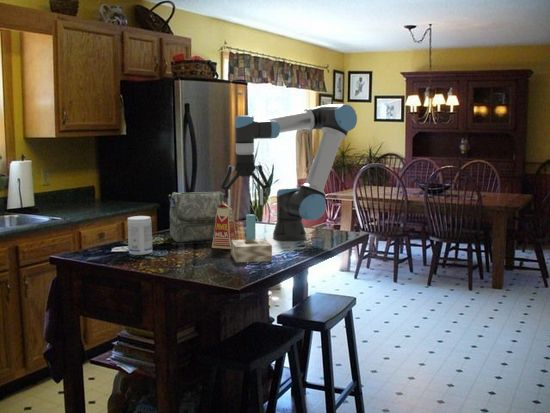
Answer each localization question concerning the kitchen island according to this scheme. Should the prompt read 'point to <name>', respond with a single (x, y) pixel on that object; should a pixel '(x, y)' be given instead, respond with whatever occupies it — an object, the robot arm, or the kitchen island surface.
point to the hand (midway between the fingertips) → (245, 205)
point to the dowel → (250, 227)
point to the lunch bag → (194, 215)
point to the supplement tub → (139, 235)
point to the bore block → (251, 250)
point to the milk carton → (224, 227)
